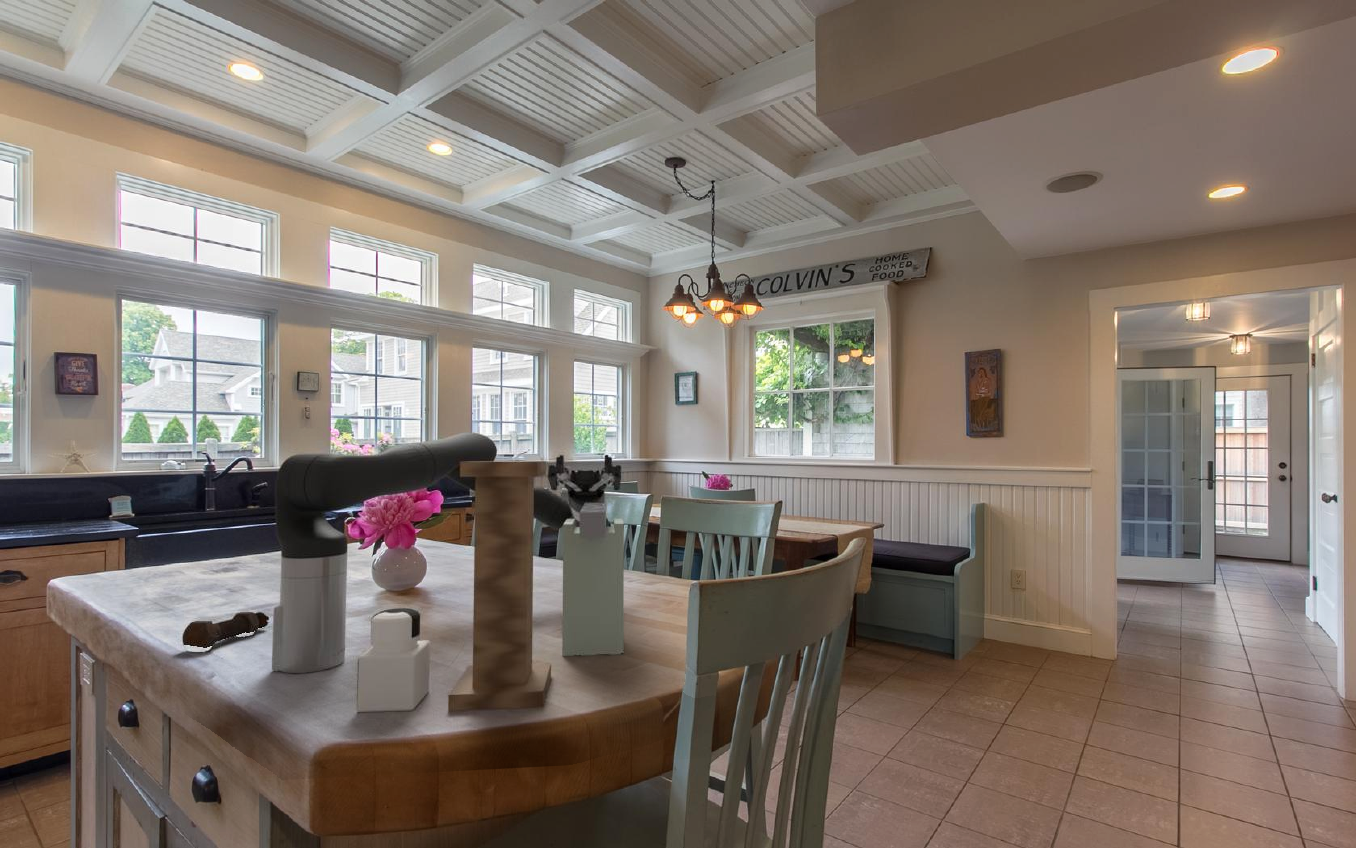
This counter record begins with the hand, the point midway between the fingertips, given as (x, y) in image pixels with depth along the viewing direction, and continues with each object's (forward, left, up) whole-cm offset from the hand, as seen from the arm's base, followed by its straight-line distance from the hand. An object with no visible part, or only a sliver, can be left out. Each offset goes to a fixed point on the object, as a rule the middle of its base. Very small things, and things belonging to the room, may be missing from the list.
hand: (584, 458), depth 124 cm
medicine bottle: (-24, -33, -33) cm, 52 cm away
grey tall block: (+2, -10, -32) cm, 34 cm away
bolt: (-63, +2, -33) cm, 71 cm away
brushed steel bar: (+2, -10, -12) cm, 16 cm away
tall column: (-10, -31, -32) cm, 46 cm away
